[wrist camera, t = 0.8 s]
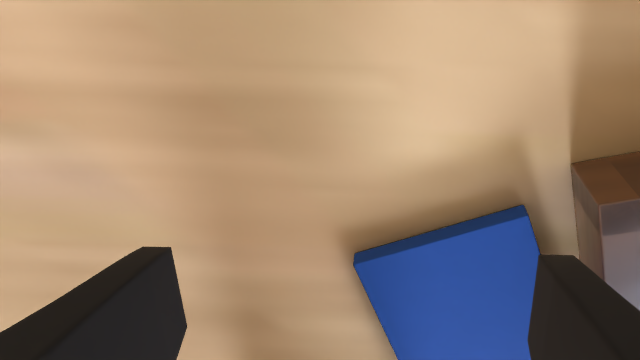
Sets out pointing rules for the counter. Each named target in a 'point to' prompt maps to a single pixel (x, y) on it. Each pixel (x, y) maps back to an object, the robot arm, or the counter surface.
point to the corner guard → (610, 220)
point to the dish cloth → (456, 289)
